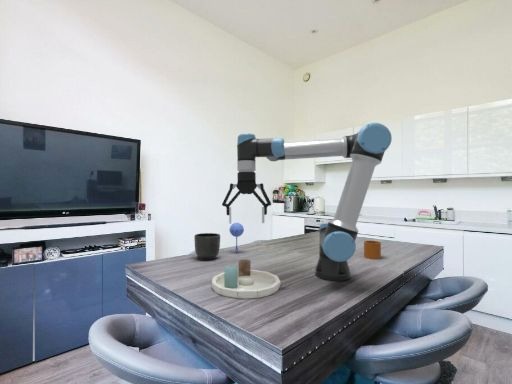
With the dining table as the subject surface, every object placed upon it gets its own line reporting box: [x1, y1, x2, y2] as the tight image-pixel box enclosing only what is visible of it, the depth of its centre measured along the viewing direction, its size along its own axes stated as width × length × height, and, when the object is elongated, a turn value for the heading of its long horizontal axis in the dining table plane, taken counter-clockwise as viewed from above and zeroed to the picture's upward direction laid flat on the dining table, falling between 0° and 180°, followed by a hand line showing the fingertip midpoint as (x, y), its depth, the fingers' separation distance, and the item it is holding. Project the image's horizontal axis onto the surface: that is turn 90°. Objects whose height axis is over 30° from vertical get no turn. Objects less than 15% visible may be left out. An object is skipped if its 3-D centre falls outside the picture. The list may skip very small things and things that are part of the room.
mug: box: [363, 240, 382, 260], centre depth 157 cm, size 9×12×9 cm
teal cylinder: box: [223, 265, 238, 289], centre depth 104 cm, size 5×5×7 cm
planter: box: [194, 232, 221, 261], centre depth 150 cm, size 14×14×13 cm
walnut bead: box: [237, 259, 252, 278], centre depth 114 cm, size 5×5×7 cm
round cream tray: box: [211, 269, 281, 300], centre depth 107 cm, size 26×26×3 cm
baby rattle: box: [229, 222, 245, 254], centre depth 165 cm, size 9×9×18 cm
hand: (246, 223), depth 114 cm, fingers open, 13 cm apart
